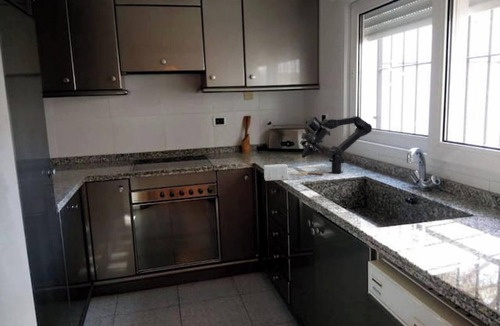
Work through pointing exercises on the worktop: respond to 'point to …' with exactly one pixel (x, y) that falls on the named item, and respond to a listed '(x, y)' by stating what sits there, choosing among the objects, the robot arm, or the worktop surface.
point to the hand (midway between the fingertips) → (302, 157)
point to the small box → (275, 172)
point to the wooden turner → (308, 173)
